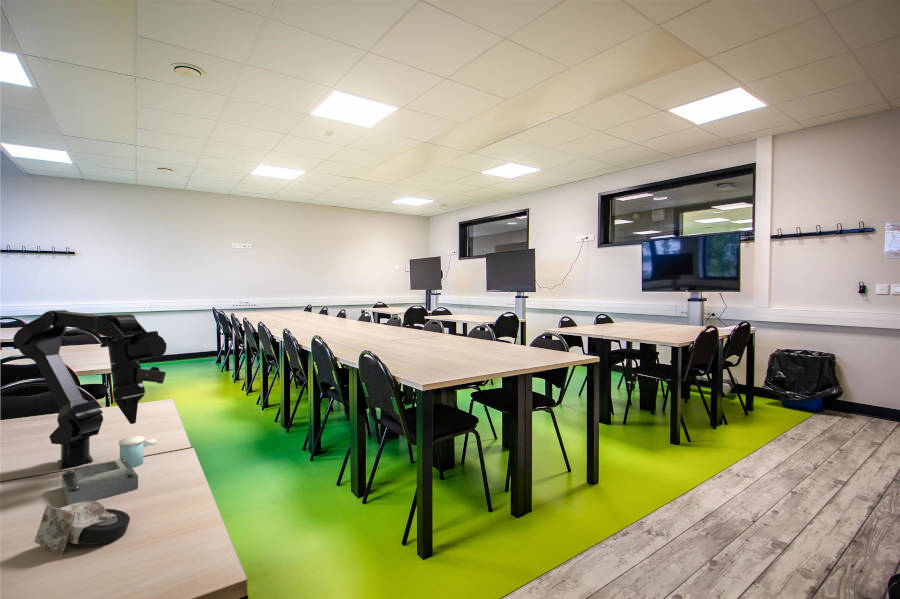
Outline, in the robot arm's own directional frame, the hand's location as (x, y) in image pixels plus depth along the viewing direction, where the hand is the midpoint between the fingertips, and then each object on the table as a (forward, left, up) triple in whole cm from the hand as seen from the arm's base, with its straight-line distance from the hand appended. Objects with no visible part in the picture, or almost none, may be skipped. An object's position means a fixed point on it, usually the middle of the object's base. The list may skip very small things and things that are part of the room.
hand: (132, 421), depth 110 cm
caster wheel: (+34, -12, -12) cm, 38 cm away
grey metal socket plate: (+10, -8, -12) cm, 17 cm away
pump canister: (-2, +2, -12) cm, 12 cm away
